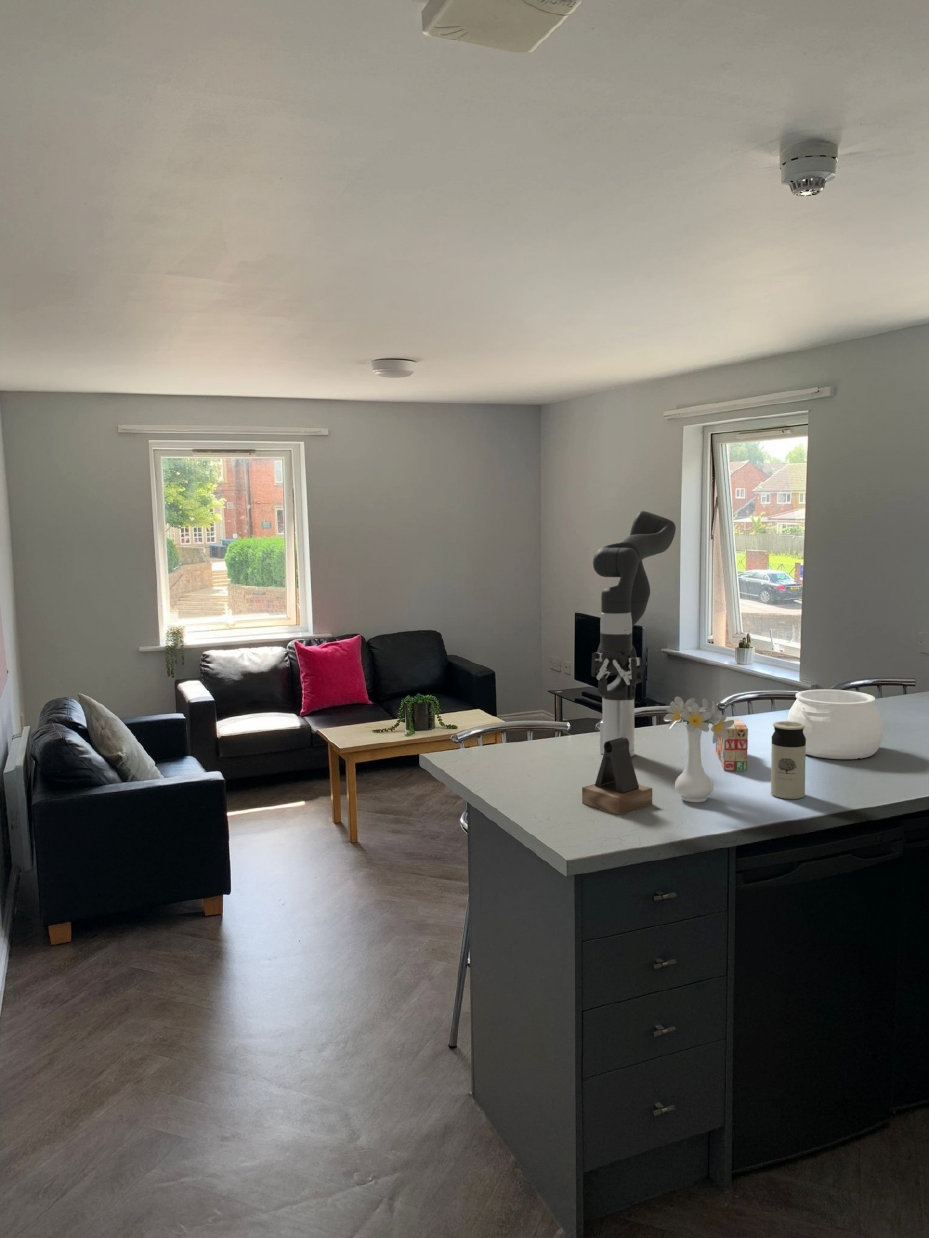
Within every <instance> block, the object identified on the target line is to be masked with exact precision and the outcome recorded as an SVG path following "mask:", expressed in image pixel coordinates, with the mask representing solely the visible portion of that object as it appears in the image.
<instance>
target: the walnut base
mask: <svg viewBox="0 0 929 1238" xmlns="http://www.w3.org/2000/svg"><path fill="white" fill-rule="evenodd" d="M638 785H639V789H636V790H633V791H629V792H626V793H623V794H621V793H617V792H614V791H610V790H607V789H603V788H599V787H596V786H595V783H593V784H590V785H586V786H583V787H582V788H581V789H582V791H581V796H582V799H581V801H582V804H583V803H584V804H583V805H586V804H587V805H586V806H589V805H590V807H593V808H596V809H599V808H601V809H600V810H602V809H603V811H605V810H606V811H605V812H609V813H611V814H612V813H613V814H615V815H618V816H620V815H623V814H626V813H629V812H632V811H636V810H639V809H641V808H645V807H647V806H651V805H653V787H649V786H646V785H643V784H639V783H638Z"/></svg>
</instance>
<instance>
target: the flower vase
mask: <svg viewBox="0 0 929 1238" xmlns="http://www.w3.org/2000/svg"><path fill="white" fill-rule="evenodd" d="M701 703H702V704H701V705H702V706H701V707H700V706H699V704H698V703H696V699H695V698H694V697H692V698H689V699H687V701H686V702H684V700H683V699H682V698H681V697H680V696H675V697H674V701H671V702H670V704H669V707H667V708H666V712H668V713H667V714H666V715H665V716H663V721H664V722H669V724H668V726H667V727H668V729H667V730H668V731H670V730H672V729H673V727H674V726H675V725H676V724H677V723H680V722H681V720H683V721H686V723H684V726H685V728H686V734H687V760H686V764H685V767H684V769H683V771H682V773H680V774H679V776H677V778H676V779H675V782H674V789H675V790H676V792H677V793H678V794H679V795H680V797H681V800H683V801H685V802H688V803H696V804H697V803H703V802H707V800H708V797H709V796H710V795H711V794H712V792H713V791H714V788H715V787H714V783H713V781H712V779H711V777H710V776H709V775H708V774H707V773H706V771H705V770H704V767H703V764H702V754H701V750H702V749H701V738H702V732H704V733H705V732H706V733H708V732H709V731H711V733H713V736H712V744H716V742H717V740H718V738H719V735H720V736H721V737H722V739H724V740H727V739H728V737H729V735H728V732H727V731H726V730H725V729H726V728H729V727H731V726H732V725H733V724H734V720H729V721H725V720H726V718H727V715H726V714H725V713H724V714H722V715H721V713H720V712H719V707H718V706H716V704H715V702H714V700H713V701H712V706H711V707H709V702H708V700H707V698H704V697H703V698H702V702H701ZM723 721H725V722H723ZM710 724H711V725H712V726H711V728H710V727H709V726H710ZM718 734H719V735H718Z"/></svg>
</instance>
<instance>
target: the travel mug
mask: <svg viewBox="0 0 929 1238" xmlns="http://www.w3.org/2000/svg"><path fill="white" fill-rule="evenodd" d="M772 726H773V729H774V732H773V734H772V735H771V753H770V754H771V756H770V757H771V760H770V761H771V763H770V765H771V766H770V768H771V770H770V794H771V795H772V796H774V797H776V798H778V797H779V798H778V799H782V798H784V799H783V800H799V799H802V798H804V797H805V796H806V757H807V756H806V755H807V754H806V738H805V736H804V734H803V729H804V727H805V725H804V724H802V723H799V722H792V721H787V720H783V721H782V720H781V721H775V722H773V723H772Z"/></svg>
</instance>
